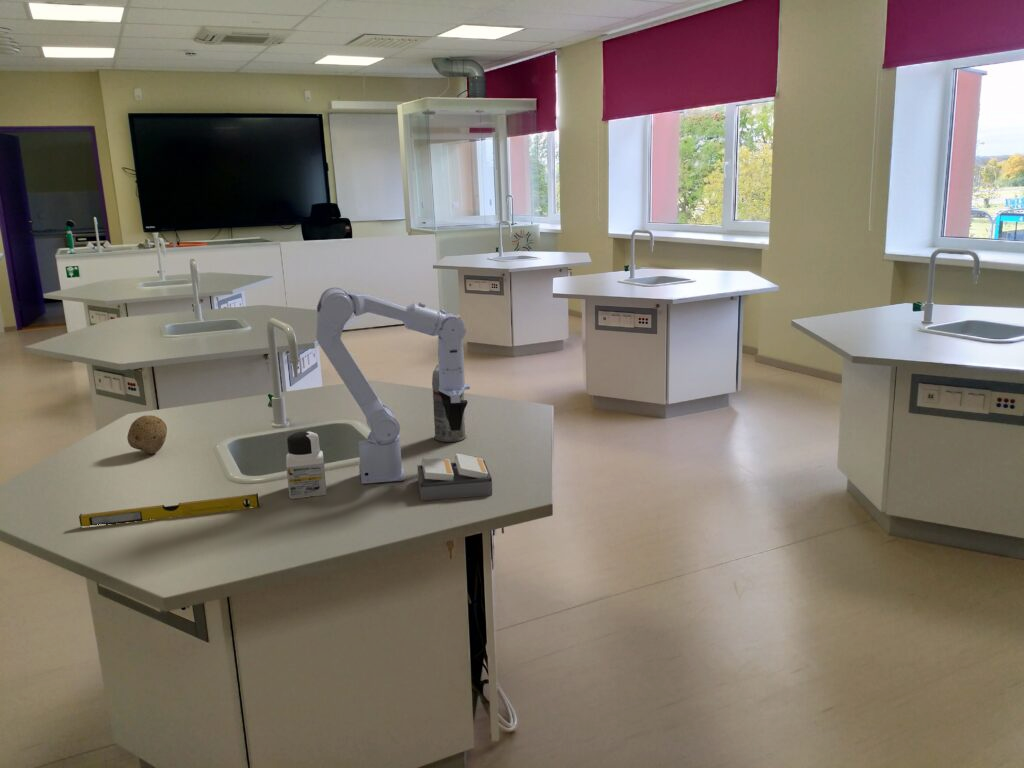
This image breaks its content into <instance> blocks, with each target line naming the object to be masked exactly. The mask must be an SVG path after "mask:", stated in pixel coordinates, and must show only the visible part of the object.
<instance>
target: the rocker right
mask: <svg viewBox="0 0 1024 768" xmlns="http://www.w3.org/2000/svg"><path fill="white" fill-rule="evenodd" d="M483 460H484V459H483V458H481V457H476V456H472V455H471V456H470V455H466V454H463V453H457V452H455V456H454V461H455V462H454V463H456V466H457V469H458V472H459V474H460V475H465V476H470V477H475V478H487V476H488V472H487V470H486V467H485V465H484V462H483Z"/></svg>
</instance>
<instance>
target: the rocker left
mask: <svg viewBox="0 0 1024 768" xmlns="http://www.w3.org/2000/svg"><path fill="white" fill-rule="evenodd" d="M421 459H422V460H421V465H422V467H423V473H424V478H425V479H435V480H447V481H453V477H454V474H453V470H452V467H451V463H452V462H451V459H449V458H439V457H438V458H437V457H427V456H426V457H424V456H423V457H422V458H421Z"/></svg>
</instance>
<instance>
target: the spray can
mask: <svg viewBox="0 0 1024 768" xmlns="http://www.w3.org/2000/svg"><path fill="white" fill-rule="evenodd" d="M431 377H432V378H431V379H432V380H431V385H432V387H431V388H432V398H433V399H432V401H433V402H432V403H433V423H434V440H436V441H438V442H442V443H455V442H460V441H462V440H464V439H465V438H467V435H466V424H465V423H466V422H465V420H466V417H465V412H466V411H465V410H464V413H463V417H462V423H461V428H460V430H456V431H451V429H450V426H449V421H448V420H447V417H446V412H445V408H444V406H443V404H442V398H441V396H440V394H439V392H438V391H439V386H440V385H439V363H438V364H437V365H436V366H435V368H434V370H433V371H432V376H431ZM464 393H465V391H464V392H463V393H462V395H461V398H460V400H465V394H464Z"/></svg>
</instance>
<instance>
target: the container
mask: <svg viewBox="0 0 1024 768" xmlns="http://www.w3.org/2000/svg"><path fill="white" fill-rule="evenodd" d="M286 442H287V451H288V453H287V454H286V457H285V458H286V459H285V460H286V461H285V462H286V466H285V468H286V477H287V486H288V487H287V488H288V497H289V499H290V500H293V499H295V498H296V499H303V498H312V497H311V496H313V497H320V496H326V495H327V493H328V492H327V484H326V483H327V481H326V472H325V471H326V469H325V461H324V452H323V451H322V450H321V448H320V447H321V446H320V437H319V435H318V433H316V432H312V431H306V430H305V431H298V432H295V433H292V434H290V435H289V436H288V437H287V439H286Z"/></svg>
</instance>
